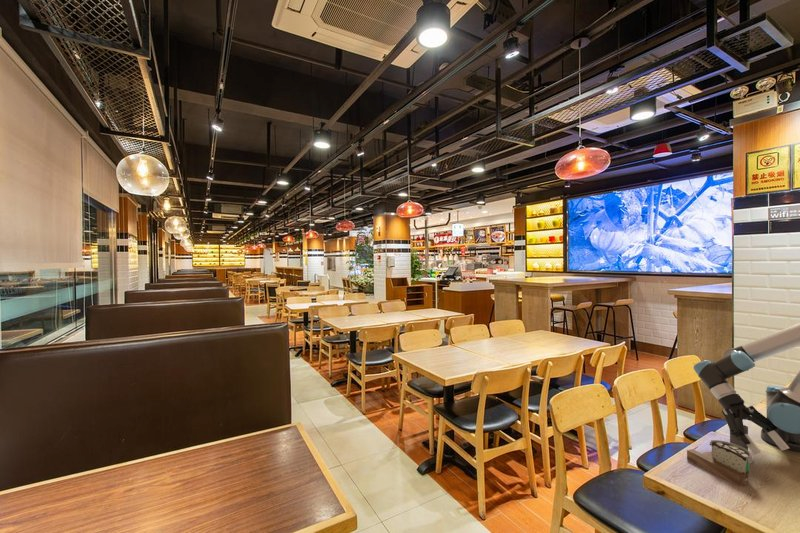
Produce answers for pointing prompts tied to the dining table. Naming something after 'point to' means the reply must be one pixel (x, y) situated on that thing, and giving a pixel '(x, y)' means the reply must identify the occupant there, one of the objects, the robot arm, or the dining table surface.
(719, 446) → the sushi piece
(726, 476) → the sushi serving board
